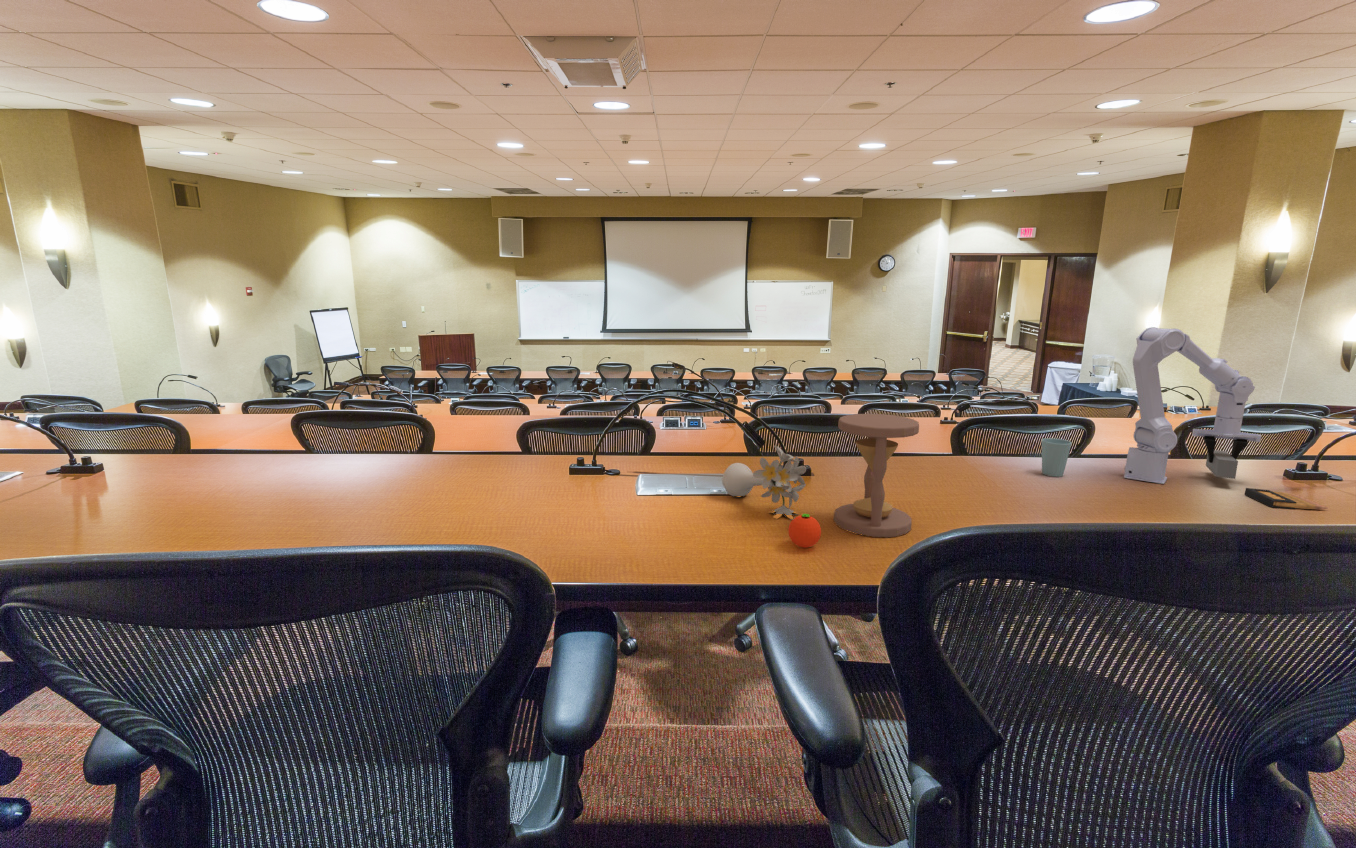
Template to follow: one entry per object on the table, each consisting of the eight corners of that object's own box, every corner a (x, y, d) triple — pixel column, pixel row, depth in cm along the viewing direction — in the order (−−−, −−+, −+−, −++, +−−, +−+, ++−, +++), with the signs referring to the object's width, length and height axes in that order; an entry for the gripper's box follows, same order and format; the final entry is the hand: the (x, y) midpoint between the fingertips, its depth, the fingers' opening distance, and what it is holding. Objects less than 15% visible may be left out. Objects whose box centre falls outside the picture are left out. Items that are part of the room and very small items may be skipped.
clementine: (790, 536, 134) (791, 506, 133) (821, 540, 132) (823, 509, 131) (785, 550, 127) (787, 519, 125) (819, 554, 125) (821, 522, 123)
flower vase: (724, 522, 162) (787, 527, 141) (704, 458, 161) (764, 452, 139) (759, 504, 169) (824, 506, 148) (740, 442, 168) (803, 435, 146)
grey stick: (1215, 476, 168) (1218, 459, 167) (1205, 465, 183) (1208, 449, 182) (1235, 479, 166) (1238, 461, 165) (1223, 467, 181) (1225, 451, 180)
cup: (1056, 470, 186) (1060, 437, 184) (1073, 477, 178) (1077, 443, 176) (1032, 471, 186) (1036, 438, 183) (1048, 478, 178) (1052, 444, 176)
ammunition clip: (1271, 507, 152) (1329, 512, 149) (1273, 500, 151) (1331, 505, 148) (1244, 494, 162) (1298, 499, 159) (1245, 487, 161) (1299, 492, 159)
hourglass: (839, 507, 153) (844, 411, 148) (912, 516, 147) (920, 416, 142) (828, 531, 137) (833, 424, 132) (909, 542, 131) (918, 430, 126)
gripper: (1197, 416, 172) (1190, 462, 175) (1267, 422, 164) (1257, 469, 167) (1194, 413, 178) (1187, 457, 181) (1261, 417, 170) (1252, 464, 173)
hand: (1220, 463), depth 174 cm, fingers closed on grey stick, 4 cm apart
